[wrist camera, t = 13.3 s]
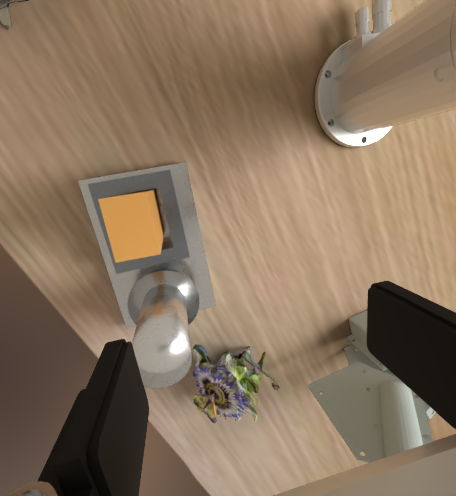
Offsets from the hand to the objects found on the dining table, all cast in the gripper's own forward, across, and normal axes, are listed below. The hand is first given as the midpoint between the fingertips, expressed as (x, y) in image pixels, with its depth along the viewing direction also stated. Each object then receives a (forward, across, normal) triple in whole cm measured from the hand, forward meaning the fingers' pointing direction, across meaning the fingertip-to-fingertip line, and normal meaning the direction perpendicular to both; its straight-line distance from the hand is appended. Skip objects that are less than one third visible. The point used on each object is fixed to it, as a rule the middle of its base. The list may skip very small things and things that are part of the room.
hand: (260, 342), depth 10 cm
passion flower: (+25, -1, +21) cm, 32 cm away
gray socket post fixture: (+25, +6, +2) cm, 26 cm away
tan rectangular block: (+23, +6, -3) cm, 24 cm away
